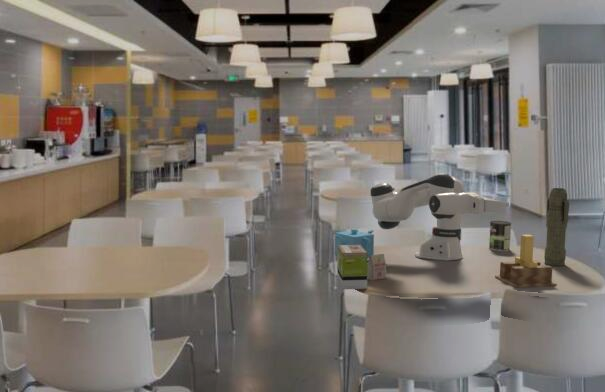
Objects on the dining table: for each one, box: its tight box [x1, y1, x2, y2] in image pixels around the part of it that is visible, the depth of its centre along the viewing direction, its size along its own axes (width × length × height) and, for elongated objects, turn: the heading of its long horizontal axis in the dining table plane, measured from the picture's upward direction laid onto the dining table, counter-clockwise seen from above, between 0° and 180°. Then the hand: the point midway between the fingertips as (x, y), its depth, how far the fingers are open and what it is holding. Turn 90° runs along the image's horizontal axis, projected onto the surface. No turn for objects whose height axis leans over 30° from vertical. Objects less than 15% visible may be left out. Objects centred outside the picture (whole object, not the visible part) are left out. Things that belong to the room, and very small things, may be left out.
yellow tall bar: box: [514, 234, 538, 268], centre depth 247 cm, size 4×11×17 cm, turn 10°
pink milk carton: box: [367, 253, 387, 281], centre depth 251 cm, size 4×7×10 cm, turn 117°
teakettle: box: [333, 228, 375, 259], centre depth 285 cm, size 19×19×15 cm
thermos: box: [543, 187, 570, 267], centre depth 277 cm, size 9×12×35 cm
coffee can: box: [488, 220, 512, 252], centre depth 312 cm, size 10×10×14 cm
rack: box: [494, 260, 558, 288], centre depth 248 cm, size 18×16×7 cm
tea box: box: [336, 245, 368, 290], centre depth 241 cm, size 15×10×15 cm, turn 5°
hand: (502, 202), depth 246 cm, fingers open, 8 cm apart
